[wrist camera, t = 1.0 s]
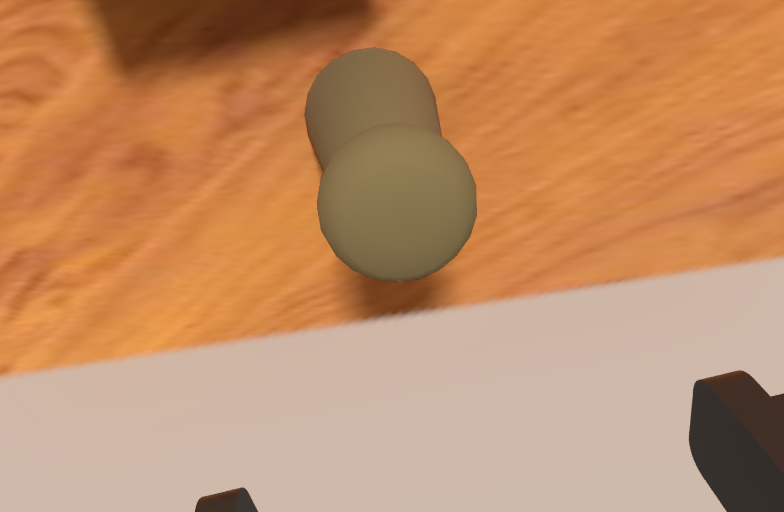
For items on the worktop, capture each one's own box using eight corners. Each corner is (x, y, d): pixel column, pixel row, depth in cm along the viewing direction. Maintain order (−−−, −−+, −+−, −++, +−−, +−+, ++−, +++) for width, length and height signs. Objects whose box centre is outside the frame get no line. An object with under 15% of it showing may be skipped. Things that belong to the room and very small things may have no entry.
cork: (354, 199, 30) (376, 340, 20) (277, 99, 27) (261, 210, 17) (459, 131, 29) (535, 247, 19) (391, 18, 26) (440, 90, 16)
